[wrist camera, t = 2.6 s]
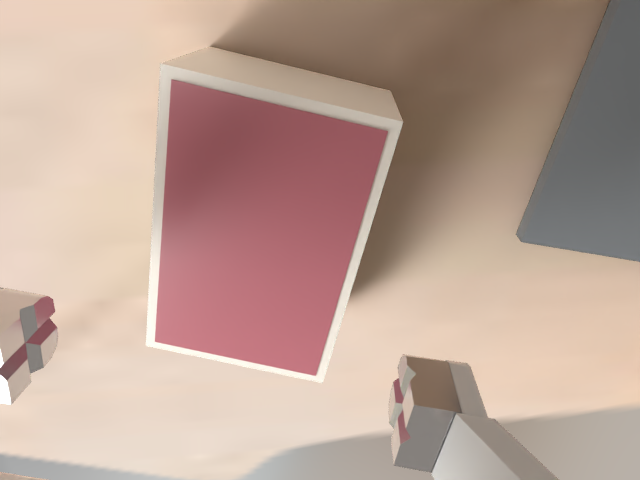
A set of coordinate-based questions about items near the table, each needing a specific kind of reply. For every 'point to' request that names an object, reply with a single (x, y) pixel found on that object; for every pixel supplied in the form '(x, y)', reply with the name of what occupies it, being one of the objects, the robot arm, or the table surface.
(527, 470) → the robot arm
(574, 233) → the mat
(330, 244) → the card box
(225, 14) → the table surface
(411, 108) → the table surface
